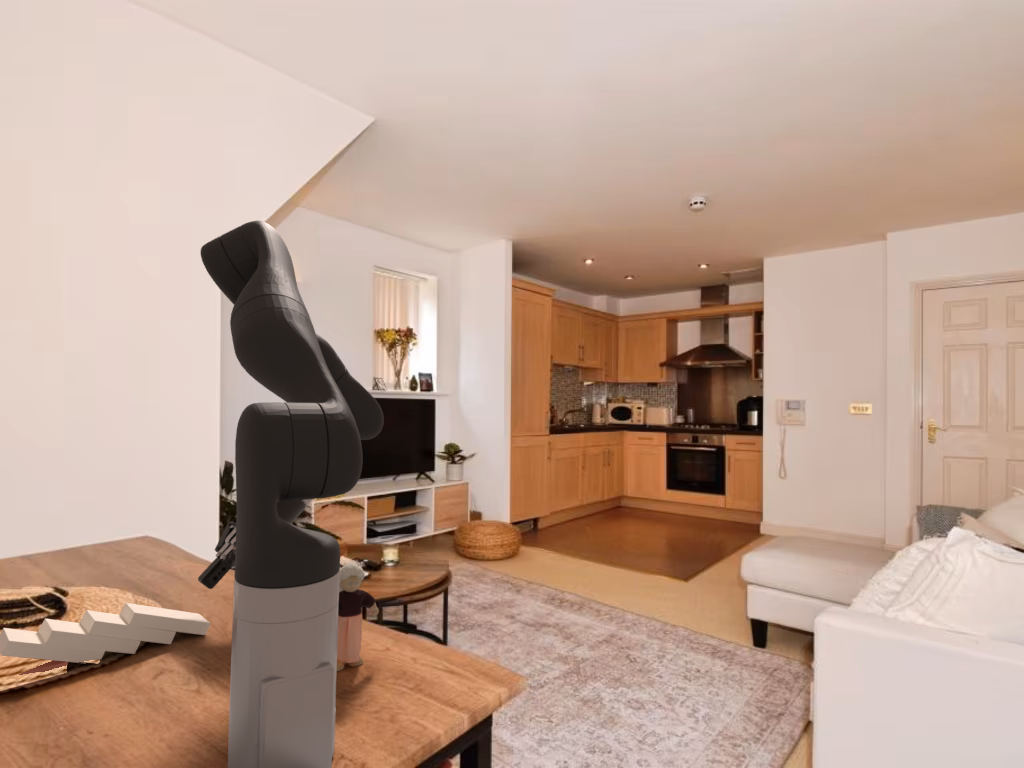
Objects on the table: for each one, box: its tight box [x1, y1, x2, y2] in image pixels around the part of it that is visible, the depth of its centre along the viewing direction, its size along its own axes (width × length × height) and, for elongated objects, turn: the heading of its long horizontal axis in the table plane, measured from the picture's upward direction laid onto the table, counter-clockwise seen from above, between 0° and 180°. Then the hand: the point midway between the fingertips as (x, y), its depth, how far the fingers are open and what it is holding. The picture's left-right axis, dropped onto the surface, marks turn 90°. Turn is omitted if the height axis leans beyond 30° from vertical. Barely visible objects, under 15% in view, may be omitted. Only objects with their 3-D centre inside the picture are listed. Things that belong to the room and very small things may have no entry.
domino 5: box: [119, 602, 211, 636], centre depth 77 cm, size 5×2×10 cm
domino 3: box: [37, 618, 141, 655], centre depth 71 cm, size 5×2×10 cm
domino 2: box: [19, 660, 69, 675], centre depth 65 cm, size 5×2×10 cm
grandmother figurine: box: [336, 562, 380, 672], centre depth 72 cm, size 8×4×13 cm, turn 136°
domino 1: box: [0, 627, 106, 664], centre depth 68 cm, size 5×2×10 cm
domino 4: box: [79, 609, 177, 645], centre depth 74 cm, size 5×2×10 cm
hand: (203, 584), depth 81 cm, fingers closed
